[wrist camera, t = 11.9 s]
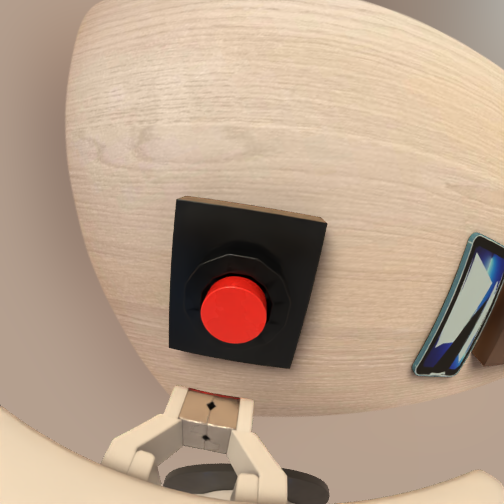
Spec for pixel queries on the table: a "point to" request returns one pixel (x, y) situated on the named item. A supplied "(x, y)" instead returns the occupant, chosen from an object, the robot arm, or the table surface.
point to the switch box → (242, 274)
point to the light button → (234, 310)
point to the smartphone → (464, 309)
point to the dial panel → (492, 336)
